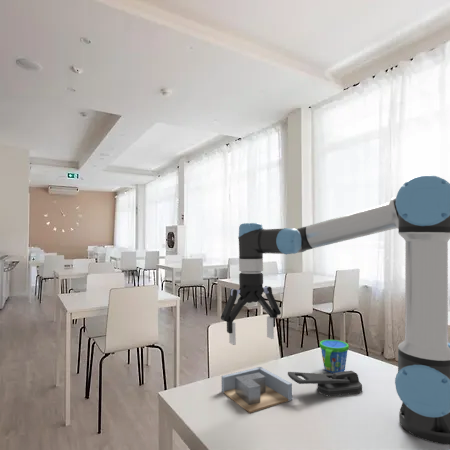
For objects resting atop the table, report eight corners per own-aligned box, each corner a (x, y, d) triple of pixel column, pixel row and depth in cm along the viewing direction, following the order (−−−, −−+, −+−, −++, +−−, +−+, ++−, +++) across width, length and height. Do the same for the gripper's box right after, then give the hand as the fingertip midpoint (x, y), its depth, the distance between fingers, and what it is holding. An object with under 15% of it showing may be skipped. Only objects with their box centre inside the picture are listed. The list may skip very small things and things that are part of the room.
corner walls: (292, 399, 106) (291, 383, 106) (249, 413, 98) (249, 395, 98) (260, 381, 120) (260, 366, 120) (221, 391, 112) (221, 376, 112)
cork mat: (288, 401, 105) (288, 399, 105) (249, 413, 98) (249, 411, 98) (259, 383, 118) (259, 381, 118) (223, 393, 111) (223, 391, 111)
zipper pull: (284, 370, 113) (348, 362, 120) (285, 391, 112) (349, 381, 119) (298, 381, 104) (366, 371, 111) (298, 403, 104) (366, 392, 111)
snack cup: (339, 380, 120) (338, 351, 121) (312, 373, 127) (311, 345, 128) (355, 368, 132) (355, 341, 132) (330, 361, 139) (329, 336, 139)
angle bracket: (259, 387, 113) (259, 372, 114) (274, 398, 105) (273, 382, 105) (235, 392, 110) (235, 377, 110) (248, 405, 101) (248, 388, 102)
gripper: (277, 269, 115) (278, 332, 114) (209, 273, 105) (210, 342, 103) (290, 271, 108) (292, 338, 107) (220, 275, 98) (220, 349, 97)
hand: (251, 340), depth 105 cm, fingers open, 13 cm apart
